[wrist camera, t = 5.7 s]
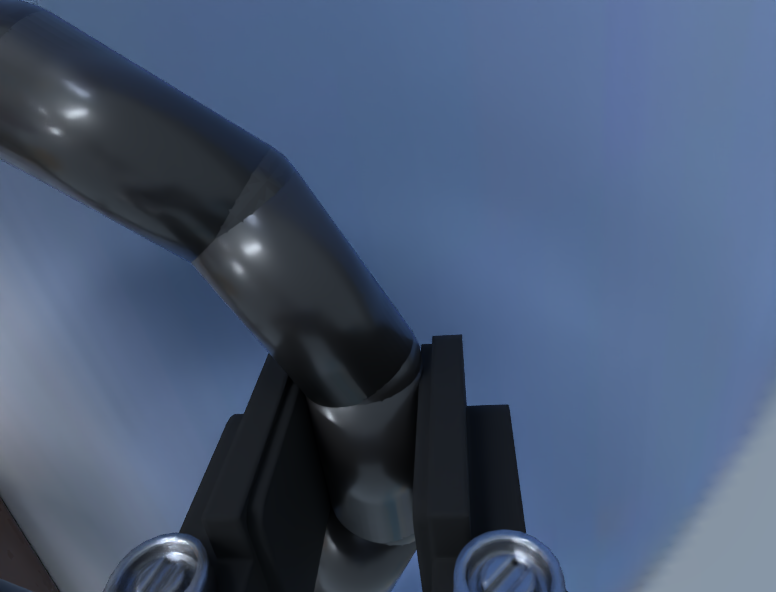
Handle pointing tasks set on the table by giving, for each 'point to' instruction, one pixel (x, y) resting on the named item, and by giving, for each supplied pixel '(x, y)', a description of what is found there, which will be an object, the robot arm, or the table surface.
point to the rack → (20, 557)
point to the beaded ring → (234, 262)
